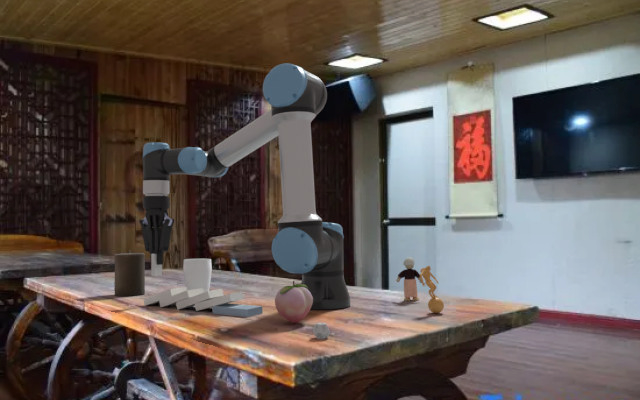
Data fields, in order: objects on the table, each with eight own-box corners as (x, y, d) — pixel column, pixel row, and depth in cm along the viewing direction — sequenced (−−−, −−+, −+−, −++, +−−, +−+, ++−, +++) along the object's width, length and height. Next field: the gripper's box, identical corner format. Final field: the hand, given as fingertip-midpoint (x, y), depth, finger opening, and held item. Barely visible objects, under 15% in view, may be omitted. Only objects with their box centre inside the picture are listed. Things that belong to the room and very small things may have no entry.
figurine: (436, 316, 141) (435, 267, 142) (414, 314, 145) (413, 266, 145) (450, 311, 148) (449, 265, 148) (428, 309, 152) (427, 264, 152)
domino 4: (210, 308, 160) (244, 298, 154) (196, 311, 154) (231, 301, 149) (208, 301, 160) (242, 291, 155) (194, 303, 155) (229, 293, 149)
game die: (312, 336, 119) (311, 322, 119) (329, 336, 119) (329, 321, 119) (312, 340, 116) (312, 325, 116) (331, 339, 116) (330, 325, 116)
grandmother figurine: (421, 298, 172) (420, 256, 172) (423, 300, 168) (423, 257, 168) (395, 299, 172) (394, 257, 172) (397, 301, 168) (397, 257, 168)
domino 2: (176, 304, 167) (204, 294, 161) (160, 307, 162) (188, 297, 156) (175, 297, 167) (203, 287, 161) (159, 300, 162) (187, 290, 156)
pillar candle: (139, 296, 187) (139, 250, 188) (109, 296, 187) (110, 250, 188) (148, 292, 197) (148, 249, 197) (120, 293, 197) (120, 249, 197)
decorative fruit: (289, 319, 140) (288, 278, 141) (318, 321, 136) (317, 279, 137) (267, 325, 132) (266, 281, 133) (296, 328, 128) (296, 283, 128)
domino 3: (192, 306, 163) (224, 295, 157) (177, 309, 157) (209, 298, 152) (190, 299, 163) (222, 288, 158) (175, 302, 158) (207, 291, 152)
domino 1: (160, 303, 171) (187, 293, 165) (144, 305, 166) (171, 296, 160) (159, 296, 171) (186, 286, 165) (143, 299, 166) (170, 288, 160)
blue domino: (228, 310, 156) (262, 314, 149) (212, 313, 151) (247, 317, 144) (228, 303, 156) (262, 306, 149) (212, 306, 151) (247, 309, 144)
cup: (208, 298, 179) (208, 260, 179) (180, 299, 179) (179, 260, 179) (214, 294, 188) (214, 258, 188) (187, 295, 188) (187, 258, 188)
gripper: (181, 195, 168) (181, 275, 167) (152, 196, 175) (152, 273, 175) (161, 194, 162) (161, 278, 161) (131, 196, 169) (131, 276, 168)
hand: (156, 275), depth 168 cm, fingers closed
